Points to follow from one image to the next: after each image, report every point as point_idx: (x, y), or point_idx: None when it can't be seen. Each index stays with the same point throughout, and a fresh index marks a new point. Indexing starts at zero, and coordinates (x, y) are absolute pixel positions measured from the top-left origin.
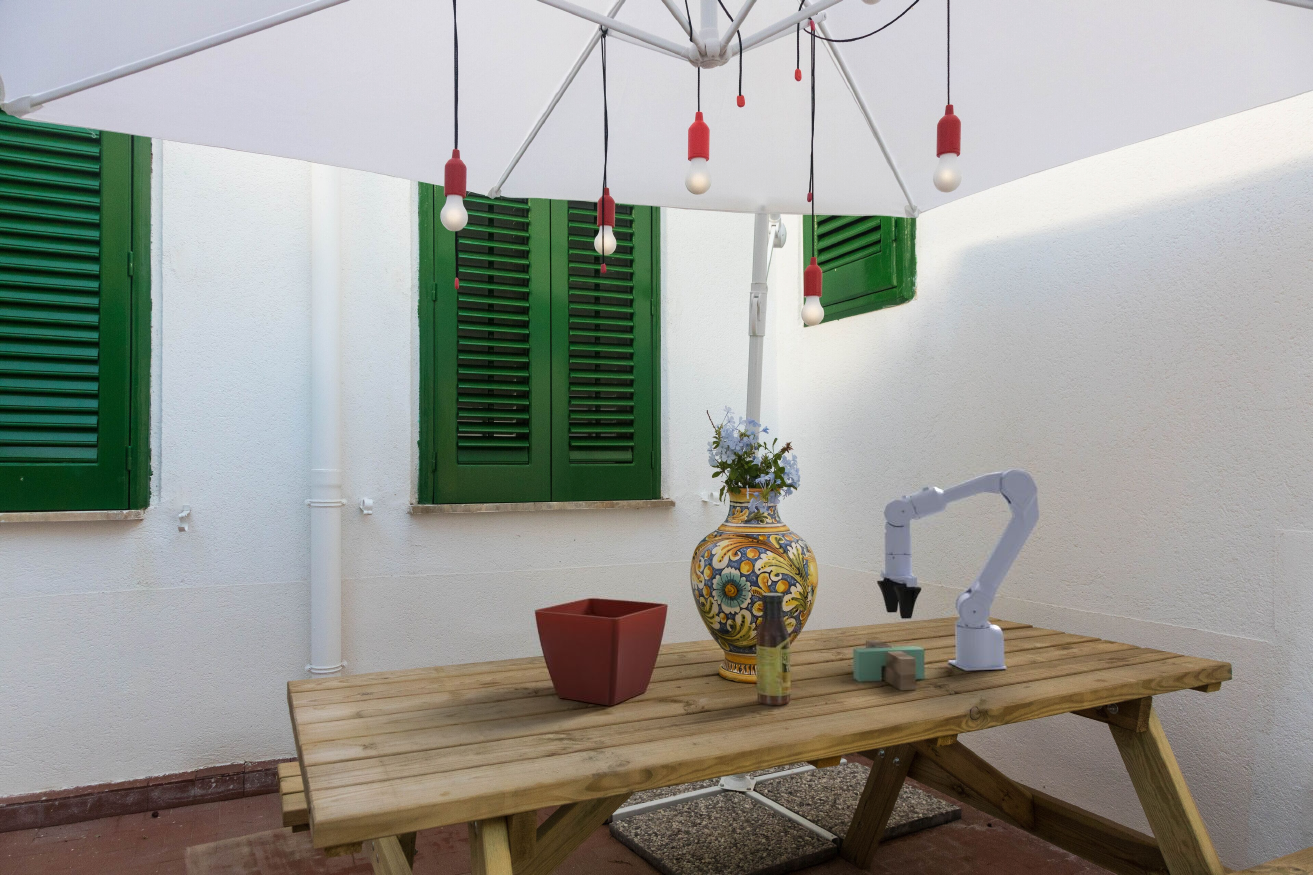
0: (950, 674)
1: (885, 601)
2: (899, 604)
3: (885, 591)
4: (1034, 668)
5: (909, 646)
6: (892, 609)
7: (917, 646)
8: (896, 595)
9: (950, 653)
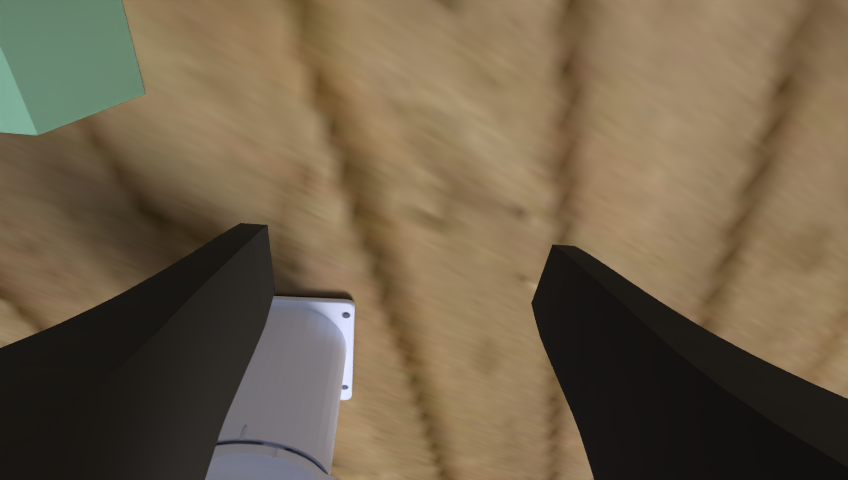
0: (172, 227)
1: (619, 292)
2: (180, 288)
3: (687, 392)
4: None
5: (13, 72)
6: (549, 291)
7: (25, 127)
8: (597, 432)
9: (477, 357)
